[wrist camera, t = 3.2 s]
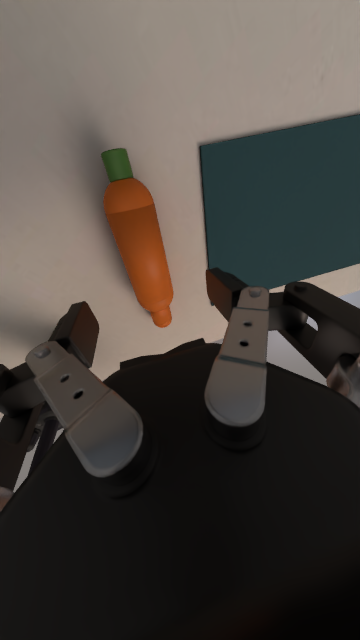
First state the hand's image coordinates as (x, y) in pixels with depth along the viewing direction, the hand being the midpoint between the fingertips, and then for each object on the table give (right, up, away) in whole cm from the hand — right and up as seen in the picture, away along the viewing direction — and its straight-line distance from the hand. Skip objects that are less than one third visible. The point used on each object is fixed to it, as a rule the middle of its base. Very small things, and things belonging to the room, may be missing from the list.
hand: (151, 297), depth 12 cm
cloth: (+16, +10, +9) cm, 21 cm away
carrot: (-2, +6, +6) cm, 9 cm away
